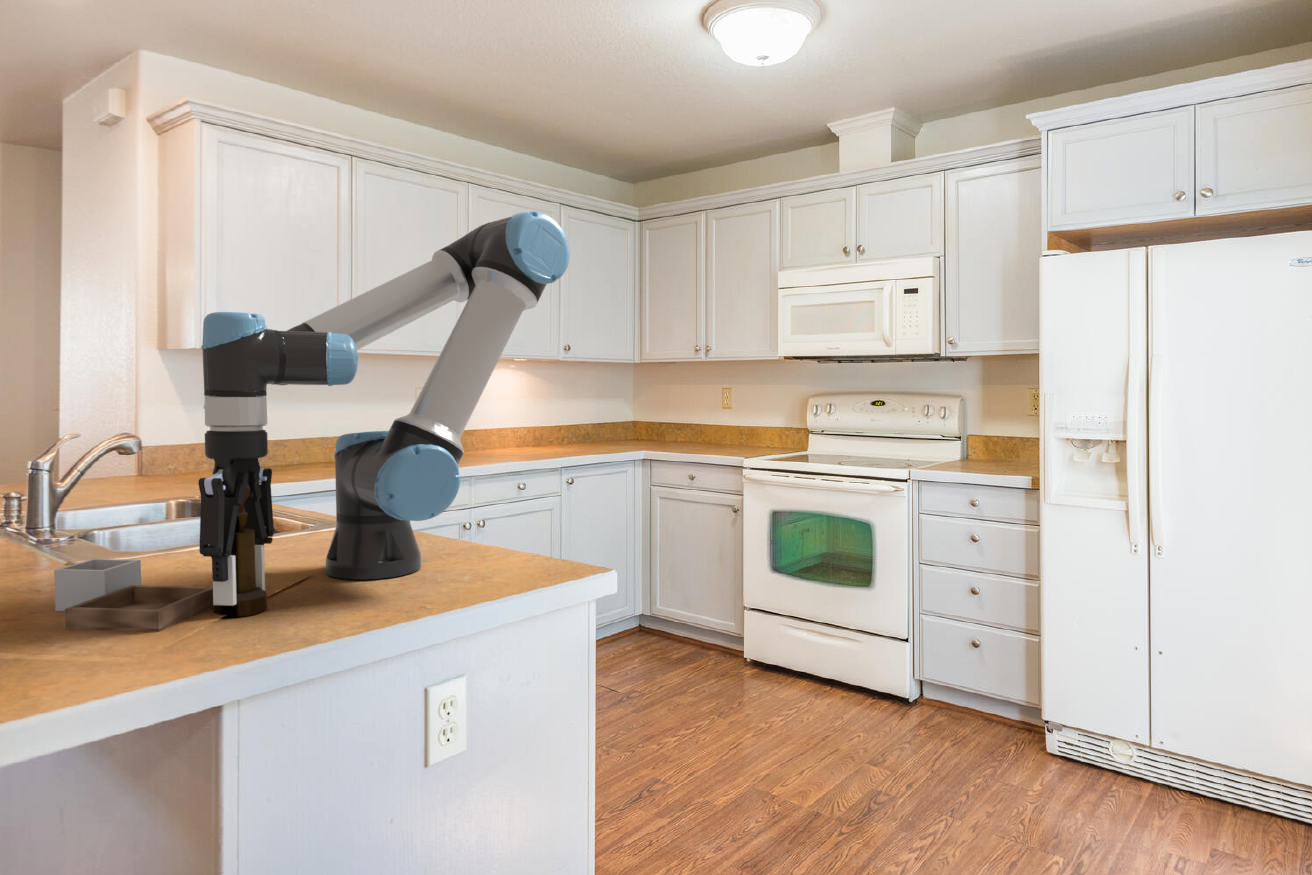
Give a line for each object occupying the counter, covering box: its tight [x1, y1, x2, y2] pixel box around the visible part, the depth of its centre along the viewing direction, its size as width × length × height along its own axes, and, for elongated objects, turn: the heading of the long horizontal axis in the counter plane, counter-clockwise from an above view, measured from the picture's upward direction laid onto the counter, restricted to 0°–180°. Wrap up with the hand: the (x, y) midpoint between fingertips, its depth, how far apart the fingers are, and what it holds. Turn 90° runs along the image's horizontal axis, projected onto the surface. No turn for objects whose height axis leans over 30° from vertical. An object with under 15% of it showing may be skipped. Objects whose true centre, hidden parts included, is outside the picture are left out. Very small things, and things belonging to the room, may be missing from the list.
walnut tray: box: [64, 584, 213, 633], centre depth 107 cm, size 12×12×3 cm
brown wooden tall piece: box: [212, 484, 268, 619], centre depth 111 cm, size 7×6×18 cm
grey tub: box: [53, 558, 142, 612], centre depth 112 cm, size 7×7×6 cm
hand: (240, 597), depth 111 cm, fingers closed on brown wooden tall piece, 6 cm apart
